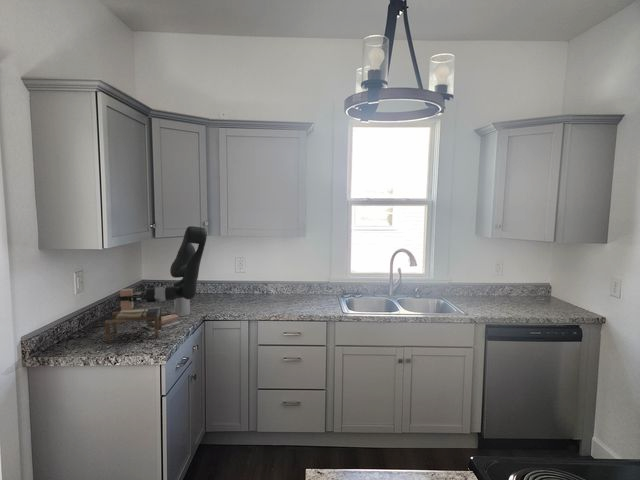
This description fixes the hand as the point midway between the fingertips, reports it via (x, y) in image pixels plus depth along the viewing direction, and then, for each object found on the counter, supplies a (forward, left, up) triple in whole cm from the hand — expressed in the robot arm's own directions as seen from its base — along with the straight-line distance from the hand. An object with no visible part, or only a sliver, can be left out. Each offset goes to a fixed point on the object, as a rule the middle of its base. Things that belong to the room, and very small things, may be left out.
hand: (121, 297), depth 189 cm
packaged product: (-16, +18, -22) cm, 32 cm away
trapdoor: (0, +8, -12) cm, 14 cm away
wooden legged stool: (0, +6, -21) cm, 22 cm away
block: (0, +3, -6) cm, 7 cm away
